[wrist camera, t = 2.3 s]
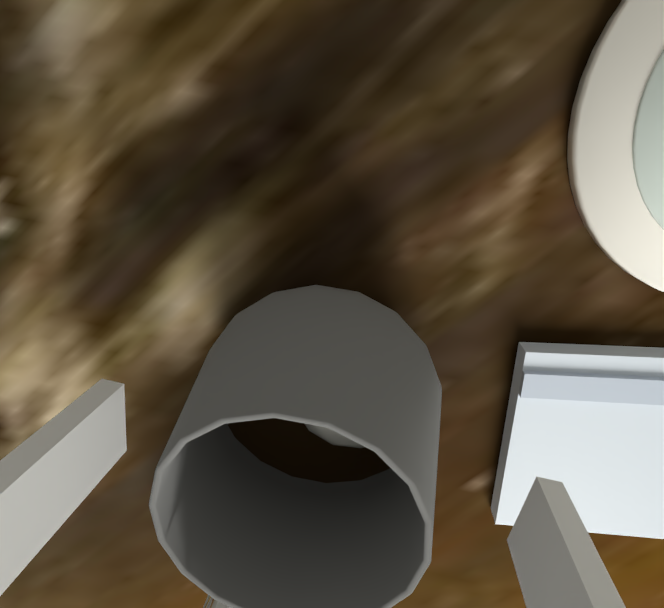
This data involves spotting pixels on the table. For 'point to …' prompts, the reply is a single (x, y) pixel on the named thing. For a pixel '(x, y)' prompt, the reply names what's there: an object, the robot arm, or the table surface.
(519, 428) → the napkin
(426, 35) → the table surface
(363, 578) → the cup
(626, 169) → the saucer
